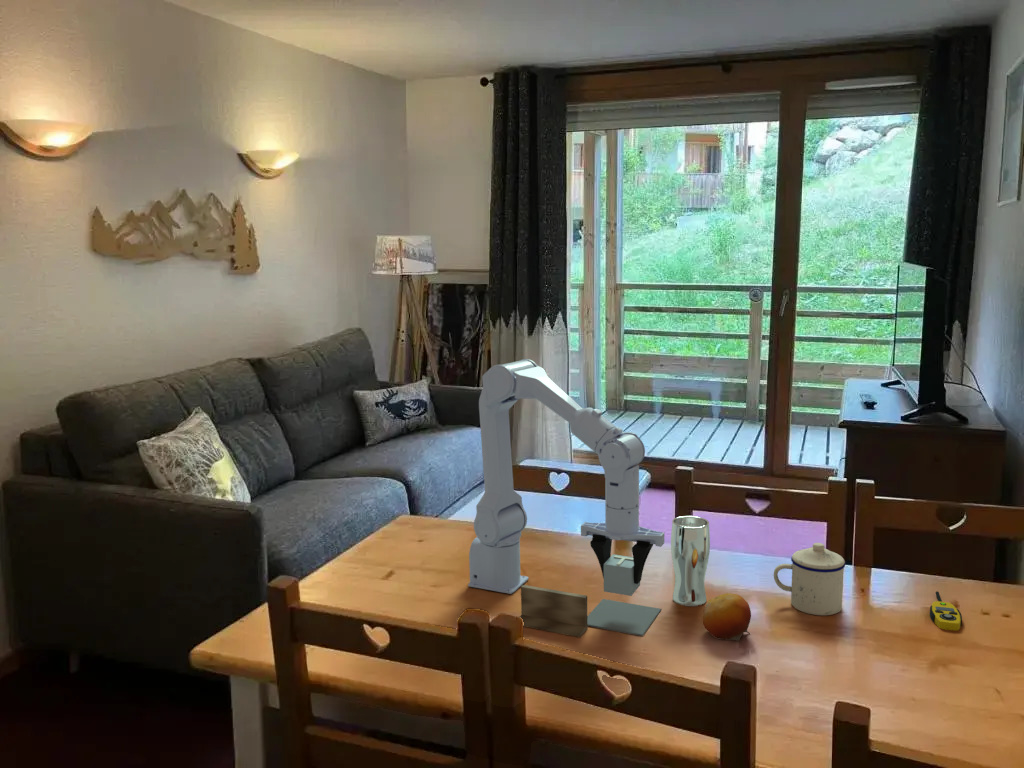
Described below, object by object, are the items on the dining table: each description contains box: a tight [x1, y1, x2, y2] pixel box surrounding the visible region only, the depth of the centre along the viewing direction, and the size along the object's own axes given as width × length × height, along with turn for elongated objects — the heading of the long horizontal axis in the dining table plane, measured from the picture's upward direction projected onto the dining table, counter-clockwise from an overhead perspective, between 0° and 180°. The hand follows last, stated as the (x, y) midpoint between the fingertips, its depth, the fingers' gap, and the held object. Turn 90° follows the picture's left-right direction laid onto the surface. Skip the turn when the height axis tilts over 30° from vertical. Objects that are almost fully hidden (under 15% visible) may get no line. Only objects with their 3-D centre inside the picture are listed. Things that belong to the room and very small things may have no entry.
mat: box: [587, 598, 662, 637], centre depth 151 cm, size 11×11×1 cm
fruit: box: [701, 592, 752, 642], centre depth 144 cm, size 8×8×8 cm
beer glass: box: [670, 515, 711, 607], centre depth 157 cm, size 7×7×15 cm
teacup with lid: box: [773, 542, 846, 616], centre depth 154 cm, size 12×9×12 cm
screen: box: [519, 584, 588, 638], centre depth 148 cm, size 12×4×6 cm, turn 64°
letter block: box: [603, 553, 641, 597], centre depth 150 cm, size 5×5×5 cm
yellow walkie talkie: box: [929, 590, 963, 632], centre depth 151 cm, size 5×2×15 cm
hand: (622, 579), depth 150 cm, fingers closed on letter block, 5 cm apart
